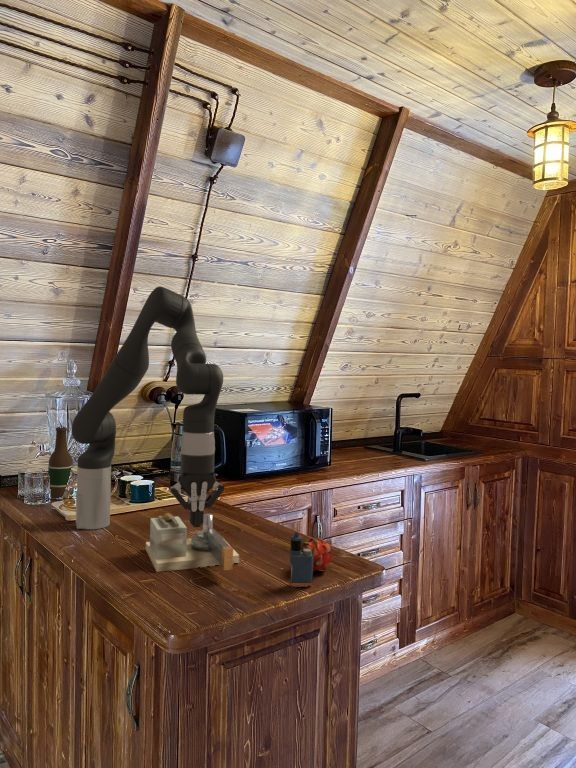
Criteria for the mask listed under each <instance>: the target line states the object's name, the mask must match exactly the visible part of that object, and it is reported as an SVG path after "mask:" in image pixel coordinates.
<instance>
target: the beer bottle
mask: <svg viewBox="0 0 576 768" xmlns="http://www.w3.org/2000/svg"><path fill="white" fill-rule="evenodd" d="M60 427H61V426H57V427H55V432H56V433H55V443H54V450H53V452H52V453H51V455H50V457H49V460H48V465H47V466H48V468H47V469H48V471H47V475H48V474H49V476H50V489H51V496H52V498H59V497H62V496H63V494H64V492H65V488H66V485H67V482H68V479H69V476H70V470H71V468H73V469H74V462H73V458H72V455H71V453H70V452H69V451H68V450H69V449H68V437H67V432H68V427H66V426H62V427H63V428H60Z"/></svg>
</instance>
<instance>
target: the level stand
mask: <svg viewBox="0 0 576 768" xmlns="http://www.w3.org/2000/svg"><path fill="white" fill-rule="evenodd" d="M149 522H150V523H149V524H150V525H149V526H150V528H149V530H150V531H149V541H146V542H145V551H146V554H147V555H148V557H149V560H150V562H151V563H152V565H153V567H154V570H155V571H156V573H160V572H170V571H181V570H189V569H198V567H200V568H208V567H207V566H210V567H216V566H215V565H219V566H221V565H220V564H219V562H218V561H217V560H216V559H215V557H214V556H213V555H212V554H211V552H210V551H198V550H195V549H193V548H192V547H191V538H192V537H190V538H189V537H188V535H187V534H188V528H187V526H186V525H185V523H184V522H183V521H182V519H181V518H180V517H179V516H173V514H171V513H169V512H165V513H164V514H163V515H158V517H151V518H150V521H149ZM187 537H188V538H187ZM223 539H224V541H225V542H226V543H227V544H228V545H229V546H231V545H230V544H229V543H228V541H227V540H226V539H225V538H224V537H223ZM234 563H238V564H240V554H239V553H238V552H237V551H236V550H235V549H234V548H233V565H235V564H234Z"/></svg>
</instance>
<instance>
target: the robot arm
mask: <svg viewBox="0 0 576 768" xmlns="http://www.w3.org/2000/svg"><path fill="white" fill-rule="evenodd" d="M136 318H137V319H136V320H135V322H134V325H133V327H132V329H131V331H130V332H129V334H128V336H127V337H126V338H125V341H124V342H123V343H122V345H121V347H120V349H119V350H118V351H117V353H116V354H115V356H114V357H113V359H112V361H111V362H110V364H109V365H108V368H107V370H106V372H105V374H104V375H103V377H102V378H101V379H100V381H99V382H98V385H97V386H96V388H95V389H94V391H93V393H92V394H91V396H90V397H89V398H88V399H87V400H86V402H85V403H84V405H83V406H82V407H81V408H80V410H79V411H78V412H77V414H76V415H75V417H74V418H73V421H72V424H71V434H72V438H73V440H74V441H76V442H77V443H79V444H82V445H83V444H84V445H89V446H88V447H87V449H86V450H85V451H83V453H81V454H80V455H79V456H78V457H77V471H76V476H77V477H76V492H75V493H76V494H75V496H76V497H75V500H76V501H75V526H76V527H75V528H76V529H77V530H81V529H82V530H99V529H103V528H107V527H109V526H110V520H111V493H112V491H111V489H112V488H111V487H112V483H111V482H112V480H111V479H112V461H113V458H114V455H115V449H116V448H115V447H116V436H117V435H116V434H117V423H116V419H115V418H114V416H113V414H112V413H111V412H110V411H111V410H112V409H113V408H114V407H115V406H116V405H118V404H119V403H120V402H122V401H123V400H125V398H127V397H128V396H129V395H130V394H131V393H132V392H133V391H134V390H136V388H137V387H138V386H139V385H140V383H141V382H142V379H143V378H144V376H145V375H146V374H147V372H148V370H149V364H150V355H149V354H150V353H149V343H148V342H149V340H148V339H149V335H150V330H151V329H152V327H153V326H154V324H155V323H158V324H160V325H163V326H165V327H167V328H170V329H173V330H175V333H174V334H173V337H172V339H171V344H170V348H171V353H172V355H173V358H174V360H175V363H176V377H175V384H176V387H177V389H178V391H179V392H180V393H182V394H184V395H191V396H192V395H194V396H195V395H196V396H197V395H204V396H203V398H202V399H201V401H200V402H197V403H194V404H190V405H187V406H185V407H184V408H183V413H182V414H183V415H182V435H181V440H180V441H181V443H180V476H179V477H178V479H177V481H178V482H176V483H175V484H174V485H173V486H172V485H171V486H169V488H168V490H169V492H170V493H171V494H172V495H173V497H174V498H175V500H176V501H177V502H178V503H179V504H180V506H181V507H182V508H183V509H184V510H189V524H190V525H191V526H192V527H193V528H201V525H203V515H204V511H205V510H206V509H208V508H209V509H210V508H211V507H213V505H214V504H215V503H216V502H217V500H218V498H219V497H220V496H221V495H222V493H223V492H224V490H225V486H224V485H223V484H222V483H220V482H218V481H217V479H216V476H215V452H216V446H215V445H216V440H215V415H216V414H215V413H216V408H217V404H218V401H219V397H220V394H221V392H222V388H223V384H224V373H223V371H222V368H221V367H220V366H219V365H218V364H215V363H207V356H206V353H205V351H204V349H203V346H202V343H201V342H200V340H199V337H198V334H197V329H196V323H195V317H194V311H193V307H192V303H191V302H190V300H189V299H188V298H186V296H184V295H182V294H179V293H177V292H175V291H173V290H170V289H169V288H166V287H164V286H157V287H155V288H154V289H153V290H152V291H151V292H150V293H149V295H148V297H147V299H146V301H145V303H144V304H143V306H142V308H141V310H140V312H139V315H138V317H136ZM211 489H212V490H211ZM182 490H183V491H184V492H185V494H186V495H187V499H188V502H187V500H185V499H184V497H183V496H182V495H181V493H182ZM209 491H211V492H210V494H208V493H209ZM207 494H208V496H207Z"/></svg>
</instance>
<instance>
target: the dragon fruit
mask: <svg viewBox="0 0 576 768" xmlns="http://www.w3.org/2000/svg"><path fill="white" fill-rule="evenodd" d="M303 549H311V550H312V556H313V570H315V571H317V570H326V569H327V566H328V565H329V563H331V562H332V560H333V553H332V550H331V547H330V544H329V543H328V541H324V539H323V538H321V537H316V538H315V539H314V538H309V539H307V540H305V541H303V542H301V552H303Z"/></svg>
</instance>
